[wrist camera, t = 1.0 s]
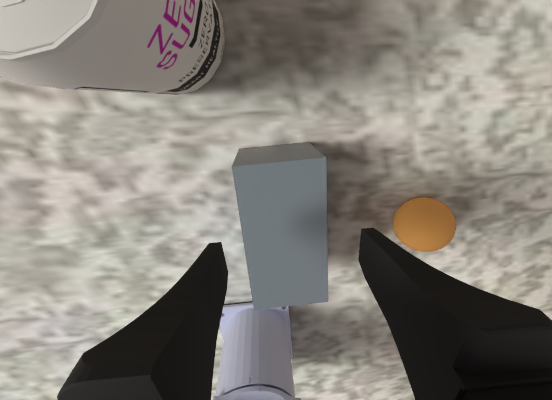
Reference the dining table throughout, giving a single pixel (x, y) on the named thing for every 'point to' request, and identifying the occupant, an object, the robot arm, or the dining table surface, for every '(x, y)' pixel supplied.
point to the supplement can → (111, 44)
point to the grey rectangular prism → (283, 223)
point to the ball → (424, 224)
